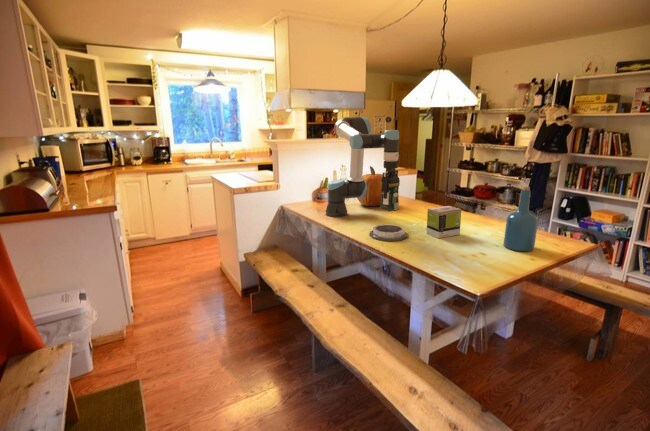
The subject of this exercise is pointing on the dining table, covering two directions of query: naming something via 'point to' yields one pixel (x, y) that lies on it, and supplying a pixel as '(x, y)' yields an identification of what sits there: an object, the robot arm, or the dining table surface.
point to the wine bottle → (521, 225)
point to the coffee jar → (391, 194)
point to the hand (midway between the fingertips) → (389, 202)
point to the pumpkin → (372, 189)
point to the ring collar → (388, 233)
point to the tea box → (443, 221)
